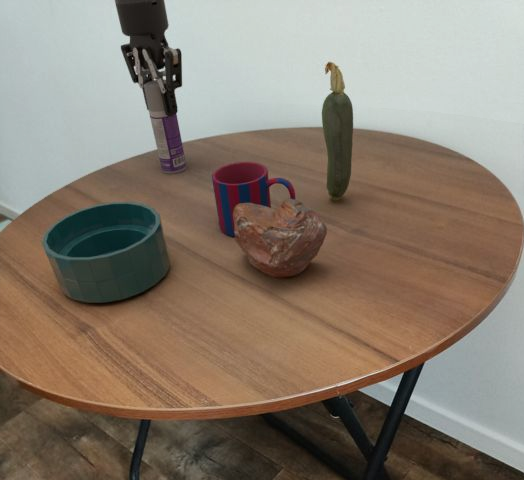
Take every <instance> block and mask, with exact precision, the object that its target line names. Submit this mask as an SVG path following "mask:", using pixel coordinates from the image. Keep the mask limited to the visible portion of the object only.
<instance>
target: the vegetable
mask: <svg viewBox="0 0 524 480" xmlns="http://www.w3.org/2000/svg"><path fill="white" fill-rule="evenodd" d="M324 72H325V73H324V74H325V75H327V74H328V73H329V72H330V77H329V78H330V79H329V81H330V88H329V91H331V92H330V93H329V94H328V95H327V96H325V98H324V100H323V103H322V108H321V125H322V130H323V138H324V142H325V145H326V151H327V167H326V168H327V169H326V190H327V193H328V196H329V199H330V200H333V202H336V201H338V200H339V199H341V197H343V196H344V195H345V194H346V192H347V190H348V188H349V184H350V180H351V176H352V158H353V157H352V156H353V137H354V136H353V135H354V110H353V109H354V108H353V103H352V101H351V99H350V97H349V95H348V94H347V93H345V89H346V86H345V85H346V84H345V81H344V76H343V74H342V71H341V69H340V68H339V66H338V65H336V63H334V62H332V61H328V62H327V63H326V64H325V67H324Z"/></svg>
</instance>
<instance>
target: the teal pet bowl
mask: <svg viewBox="0 0 524 480" xmlns="http://www.w3.org/2000/svg"><path fill="white" fill-rule="evenodd" d="M163 227H164V226H163V222H162V219H161V215H160V214H159V212H157V210H156V209H155V208H154V207H151V206H149V205H147V204H145V203H142V202H141V203H140V202H135V201H112V202H105V203H99V204H94V205H91V206H88V207H84V208H81V209H78V210H76V211H73V212H71V213H69V214H67V215H65V216H63V217H62V218H60V219H59V220H57V221H56V222H54V223H53V224H51V226H49V228H48V229H47V230H46V231H45V232H44V234H43V236H42V240H41V246H42V248H43V250H44V252H45V255H46V257H47V259H48V262H49V264H50V267H51V269H52V272H53V273H54V276H55V278H56V281H57V283H58V286H59V287H60V290H61V293H62V294H64V295H66V296H67V297H68V298H70V299H71V300H75V301H79V302H82V303H88V304H89V303H90V304H91V303H95V304H99V303H100V304H103V303H104V304H105V303H110V302H115V301H122V300H125V299H128V298H131V297H134V296H137V295H139V294H141V293H144V292H145V291H147V290H148V289H150V288H152V287H154V286H156V285H157V284H158V283H159V282H160V281H161V280H162V279H163V278H164V277H165V276H166V275H167V273H168V271H169V269H170V267H171V257H170V256H171V255H170V251H169V248H168V243H167V240H166V236H165V232H164V228H163Z"/></svg>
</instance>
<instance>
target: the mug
mask: <svg viewBox="0 0 524 480" xmlns="http://www.w3.org/2000/svg"><path fill="white" fill-rule="evenodd" d="M211 181H212V187H213V192H214V193H213V194H214V200H215V206H216V212H217V218H218V225H219V229H220V231H221V232H222V233H223V234H225V235H226V236H229V237H232V238H233V237H234V238H236V236H235V232H234V231H235V225H234V219H233V211H234V208H235V207H236V205H238V204H240V203H253V204H257V205H262V206H266V207H269V208H272V204H271V203H272V202H271V192H270V187H271V186H273V185H275V184H280V185H283V186H284V187H285V188H286V189H287V190H288V193H289V197H290V198H289V199H294V200H296V190H295V187H294V185H293V184H292V183H291V181H289V179H286V178H284V177H275V178H270V179H269V169H268V167H267V166H266V165H264V164H262V163H259V162H254V161H238V162H237V161H236V162H232V163H227V164H225V165H222V166H220V167H218V168H217V169H215V170H214V171H213V172H212V174H211Z"/></svg>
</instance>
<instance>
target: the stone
mask: <svg viewBox="0 0 524 480" xmlns="http://www.w3.org/2000/svg"><path fill="white" fill-rule="evenodd" d="M233 219H234V225H235V231H234V232H235V236H236V237H234V238H235V242H236V243H237V245H238V246H239V248H240V249H241V250H242V252H243V253H244V254H245V255H246V257H247V260H248V261H249V264H250V265H251V266H253V267H254V268H255V269H257V270H259V271H260V272H262V273H264V274H266V275H267V276H269V277H273V278H286V277H294V276H296V275H299V274H300V273H302V272H303V271H304V270H305V269H306V268H307V267H308V266H309V264H311V262H312V260H313V259H315V258H316V257H317V256H318V253H319V251H320V250H321V247H322V246H323V245H324V241H325V239H326V236H327V233H328V228H327V226H326V224H325V222H324V221H323V219H322V217H321V216H320V215H319V214H317V212H316V211H315V210H314V209H313V208H312V207H309V206H307V205H304V203H303V202H301V201H299V200H297V199H295V200H294V199H290V198H286V199H284V200H283V201H282V202H281V203H280V204H278V206H277V208H276V209H275V208H272V207H271V208H269V207H266V206H262V205H257V204H253V203H240V204H238V205H236V207H235V208H234V211H233Z"/></svg>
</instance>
